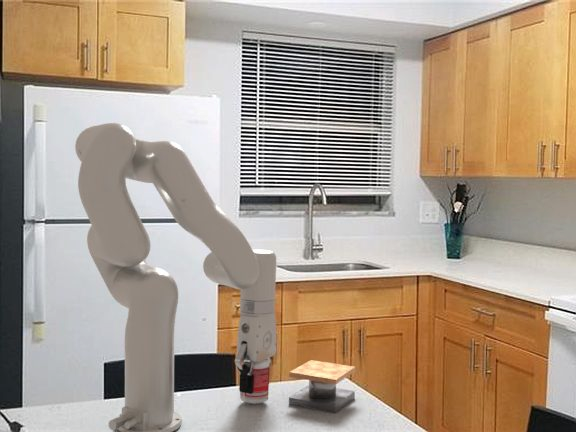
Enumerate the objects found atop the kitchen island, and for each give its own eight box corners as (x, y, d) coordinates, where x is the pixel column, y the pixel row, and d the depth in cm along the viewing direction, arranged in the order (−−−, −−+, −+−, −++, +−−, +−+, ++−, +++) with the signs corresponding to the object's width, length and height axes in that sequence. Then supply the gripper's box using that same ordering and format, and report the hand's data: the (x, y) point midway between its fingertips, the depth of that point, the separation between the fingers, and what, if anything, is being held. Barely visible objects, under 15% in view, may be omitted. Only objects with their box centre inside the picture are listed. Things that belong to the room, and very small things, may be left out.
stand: (335, 413, 140) (336, 379, 139) (288, 404, 145) (289, 372, 144) (354, 398, 149) (355, 366, 149) (310, 390, 154) (310, 360, 154)
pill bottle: (273, 400, 145) (275, 350, 144) (252, 406, 140) (254, 354, 140) (255, 393, 149) (257, 344, 149) (234, 398, 145) (235, 348, 144)
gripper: (252, 314, 135) (249, 402, 135) (290, 303, 150) (287, 381, 151) (221, 310, 138) (218, 395, 139) (261, 299, 153) (259, 376, 154)
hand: (254, 387), depth 145 cm, fingers closed on pill bottle, 6 cm apart
